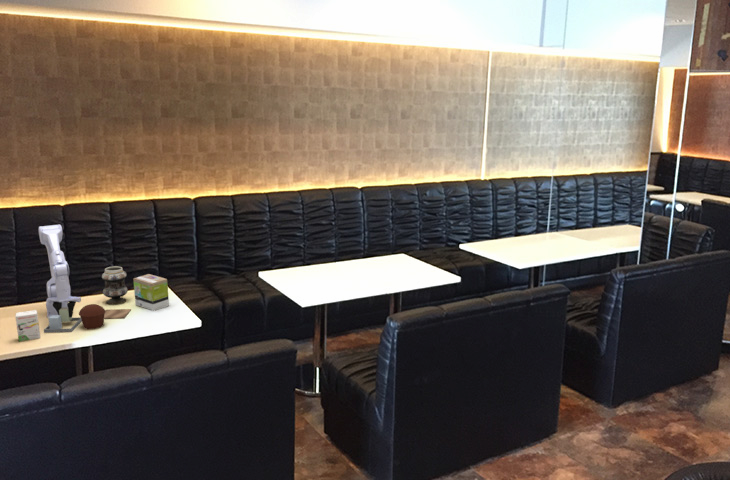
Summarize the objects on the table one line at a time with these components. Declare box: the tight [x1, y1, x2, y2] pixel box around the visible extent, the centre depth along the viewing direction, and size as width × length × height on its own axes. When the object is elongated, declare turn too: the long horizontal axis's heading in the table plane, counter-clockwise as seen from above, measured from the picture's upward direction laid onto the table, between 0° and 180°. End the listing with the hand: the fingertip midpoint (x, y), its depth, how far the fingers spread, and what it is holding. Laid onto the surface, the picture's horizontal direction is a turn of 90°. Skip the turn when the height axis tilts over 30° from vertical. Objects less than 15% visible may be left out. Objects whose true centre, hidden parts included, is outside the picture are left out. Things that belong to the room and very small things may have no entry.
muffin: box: [78, 303, 106, 330], centre depth 296 cm, size 12×11×10 cm
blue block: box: [47, 315, 63, 329], centre depth 292 cm, size 4×4×6 cm
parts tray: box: [43, 316, 82, 334], centre depth 296 cm, size 12×15×2 cm
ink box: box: [15, 309, 41, 342], centre depth 281 cm, size 8×5×12 cm, turn 119°
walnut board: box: [104, 308, 132, 320], centre depth 312 cm, size 12×12×1 cm
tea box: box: [132, 273, 170, 312], centre depth 323 cm, size 15×10×15 cm
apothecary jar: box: [101, 265, 129, 306], centre depth 329 cm, size 12×12×18 cm
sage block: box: [59, 307, 73, 323], centre depth 299 cm, size 4×4×6 cm
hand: (65, 316), depth 299 cm, fingers closed on sage block, 4 cm apart
